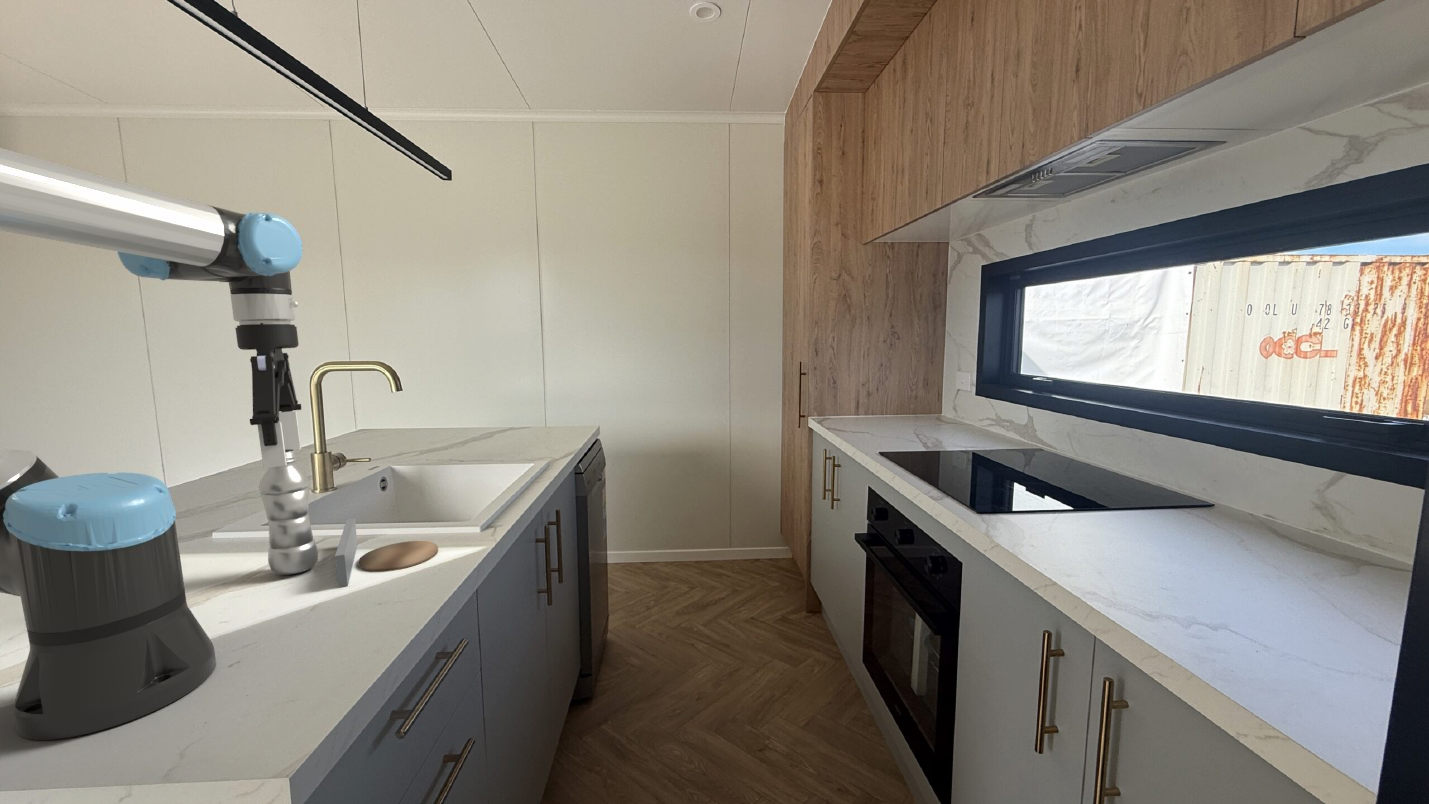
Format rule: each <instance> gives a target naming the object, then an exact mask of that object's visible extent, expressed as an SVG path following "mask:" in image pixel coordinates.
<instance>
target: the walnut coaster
mask: <svg viewBox="0 0 1429 804" xmlns="http://www.w3.org/2000/svg"><path fill="white" fill-rule="evenodd" d="M438 553H439V547H438V545H437V543H435V542H433V541H429V540H428V541H426V540H411V541H409V540H408V541H402V542H396V543H392V544H387V545H383V546H380V547H377V548H374V549H372V550H370V551H368V552H366V553H364V554H363V555H362V556H360V558H359V559H358V567H359V568H360V569H361V570H364V571H366V572H367V571H368V572H390V571H398V570H402V569H408V568H411V567H414V566H417V565H420V564H423V563H425V562H427V561H429V560H431V559H433V558H434V557H435V556H436V555H437V554H438Z"/></svg>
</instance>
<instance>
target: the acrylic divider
mask: <svg viewBox="0 0 1429 804" xmlns="http://www.w3.org/2000/svg"><path fill="white" fill-rule="evenodd" d="M339 540H340V541H339V543H338V545H337V549H336V552H335V554H334V558H335V559H334V561H335V568H336V569H335V571H336V579H337V587H338V588H344V587H349V583H350V578H351V573H352V570H353V566H354V561H355V557H356V552H357V549H358V535H357V526H356V519H355V517H354V518H353V517H352V518H347V519H346V521H345V525H344V528H343V530H342V534H341V536H340V539H339Z"/></svg>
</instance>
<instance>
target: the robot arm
mask: <svg viewBox="0 0 1429 804" xmlns="http://www.w3.org/2000/svg"><path fill="white" fill-rule="evenodd" d="M0 231H1V232H5V233H13V234H17V235H23V236H29V237H35V238H40V239H45V240H46V239H47V240H51V241H56V242H57V241H58V242H63V243H69V244H75V245H78V246H85V247H90V248H96V249H103V250H106V251H107V250H108V251H113V252H117V255H118V258H119V260H120V262H121V263H122V265H123V267H124V268H125V269H126V270H127V271H128V272H130V273H131V274H132V275H135V276H136V277H141V278H149V279H150V278H151V279H159V280H161V281H166V280H174V281H175V280H177V281H194V282H195V281H199V282H201V281H202V282H219V283H228V286H229V292H230V301H231V309H232V319H233V320H234V321H235V322H238V324H239V325H236V327H234V328H235V336H236V343H237V347H238V348H239V350H242V351H249V350H250V351H251V350H253V351H256V355H255V356H254V355H253V356H250V359H249V361H250V364H251V365H250V366H251V379H252V380H251V381H252V382H251V383H252V384H251V385H252V386H251V387H252V390H251V391H252V416H251V417H252V418H249V424H250V426H257V429H258V430H257V432H258V437H259V438H258V439H259V447H260V453H261V461H262V468H263V469H269V467H278V466H286V465H287V463H286V455H285V449H294V450H295V451H297V450H298V451H299V450H302V445H301V436H300V429H299V421H298V411H301V410H302V404H301V403H299V401H298V400H297V393H296V390H295V385H294V381H293V377H292V373H291V372H292V371H291V368H290V362H289V361H290V360H289V356H290V355H289V354H288V353H287V352H283V349H295V348H296V349H297V348H298V347H299V338H298V337H299V336H298V329H297V327H298V326H295V324H291V321H294V320H296V317H295V316H296V315H295V310H294V308H297V307H299V303H298V301H296V300H293V296H292V295H293V292H292V291H293V290H292V289H293V288H292V282H291V271H292V270H293V269H295V268H296V267H297V266H298V265H299V264H300V262H301V260H302V257H303V251H304V250H303V241H302V239H301V235H300V234H299V233H298V230H297V229H296V227H294V225H292V224H291V222H289V221H288V220H287V219H285V218H284V217H283V216H279V215H277V214H273V213H265V212H263V213H262V212H257V211H256V212H249V213H246V214H245V213H240V212H237V211H232V210H229V209H226V208H221V207H216V206H214V205H209V204H205V203H202V202H198V201H193V200H190V199H189V198H184V197H179V196H178V195H177V196H175V195H173V194H169V193H166V192H161V191H159V190H154V189H150V188H148V187H144V186H140V185H136V184H132V183H130V182H129V183H128V182H126V181H122V180H119V179H115V178H111V177H107V176H104V175H100V174H97V173H96V174H95V173H92V172H90V171H89V172H88V171H85V170H82V169H78V168H76V167H75V168H74V167H71V166H67V165H63V164H61V163H60V164H59V163H56V162H53V161H49V160H47V159H42V158H38V157H36V156H30V155H27V154H24V153H20V152H16V151H13V150H9V149H6V148H2V147H0ZM176 518H177V511H176V508H175V504H174V502H173V500H172V497H171V493H170V490H169V488H168V486H167V484H166V483H165V482H164V481H162V480H160V479H159V478H157V477H155V476H151V475H147V474H141V473H135V472H115V473H108V472H96V473H95V472H94V473H93V472H92V473H84V474H72V475H67V476H62V477H61V476H58V475H57V474H56V473H55V472H54V471H53V470H52V469H51V468H50V467H49V466H48V465H47V464H46V463H45V462H44V461H42V460H41V458H39V457H38V456H37V455H36V454H35V453H34V452H32V451H31V450H24V449H23V450H20V449H8V448H4V447H3V448H2V447H0V594H7V595H12V596H16V597H20V600H21V604H22V611H23V617H24V621H25V622H24V623H25V627H26V632H27V636H28V643H29V651H28V656H27V658H26V662H25V665H24V668H23V673H22V676H21V679H20V682H19V685H18V689H17V693H16V695H15V699H14V703H13V708H12V713H13V718H14V719H13V720H14V723H15V725H14V726H15V729H16V733H17V734H18V735H19V736H20V737H23V738H25V739H29V740H37V741H45V740H46V741H48V740H51V741H52V740H59V739H67V738H73V737H77V736H78V737H79V736H83V735H87V734H91V733H95V732H99V731H103V730H106V729H110V728H113V727H116V726H119V725H121V724H124V723H127V722H130V721H133V720H135V719H138V718H141V717H143V716H145V715H148V714H151V713H153V712H155V711H157V710H160V709H162V708H164V707H165V706H167V705H170V704H171V703H173V702H175V701H177V700H179V699H181V698H182V697H184V696H186V695H188V694H189V693H190V692H192V691H193V690H195V689H196V688H198V687H200V685H202V684H203V683H204V682H205V681H206V680H207V679H209V677H210V676H211V675H212V674H213V672H214V671H215V669H216V666H217V660H216V653H215V647H214V644H213V642H212V640H211V638H210V637H209V635H208V633H206V631H205V630H204V629H203V627H202V625H201V624H200V622H199V621H198V620H197V618H196V617H195V615H194V614H193V612H192V611H191V609H190V607H189V606H188V604H187V603H188V602H187V596H186V590H185V582H184V581H185V580H184V575H183V567H182V560H181V554H180V546H179V545H180V544H179V539H178V533H177V532H178V531H177V525H176Z"/></svg>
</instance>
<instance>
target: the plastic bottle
mask: <svg viewBox="0 0 1429 804" xmlns="http://www.w3.org/2000/svg"><path fill="white" fill-rule="evenodd" d="M285 455H286V463H287V465H286V466H278V467H269V468H267V470H266V471H265V473H264V474H263V475H262V477H261V478H260V480H259V484H258V490H259V494H260V497H261V501H262V504H263V506H264V511H265V514H266V518H267V524H268V540H269V541H268V543H269V545H268V546H269V547H268V553H267V554H268V556H267V563H268V565H269V566H268V567H269V569H270V570H271V572H273V573H274V574H276V575H279V576H288V575H293V574H294V575H296V574H298V573H302V572H306V571H309V570H310V569H313V567H315V566H316V564H317V563H318V560H319V559H318V558H319V550H318V549H319V548H318V547H317V543H316V540H315V539H314V534H313V531H312V526H311V521H310V515H309V512H310V510H309V509H310V507H309V500H310V499H309V498H310V497H309V495H310V487H309V486H310V480H309V478H308V475H306V473H305V472H304V471H303V470H302V469H301V468H300V467H298V466H297V464H296V462H297V460H298V457H297V455H296V450H294V449H285Z"/></svg>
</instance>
